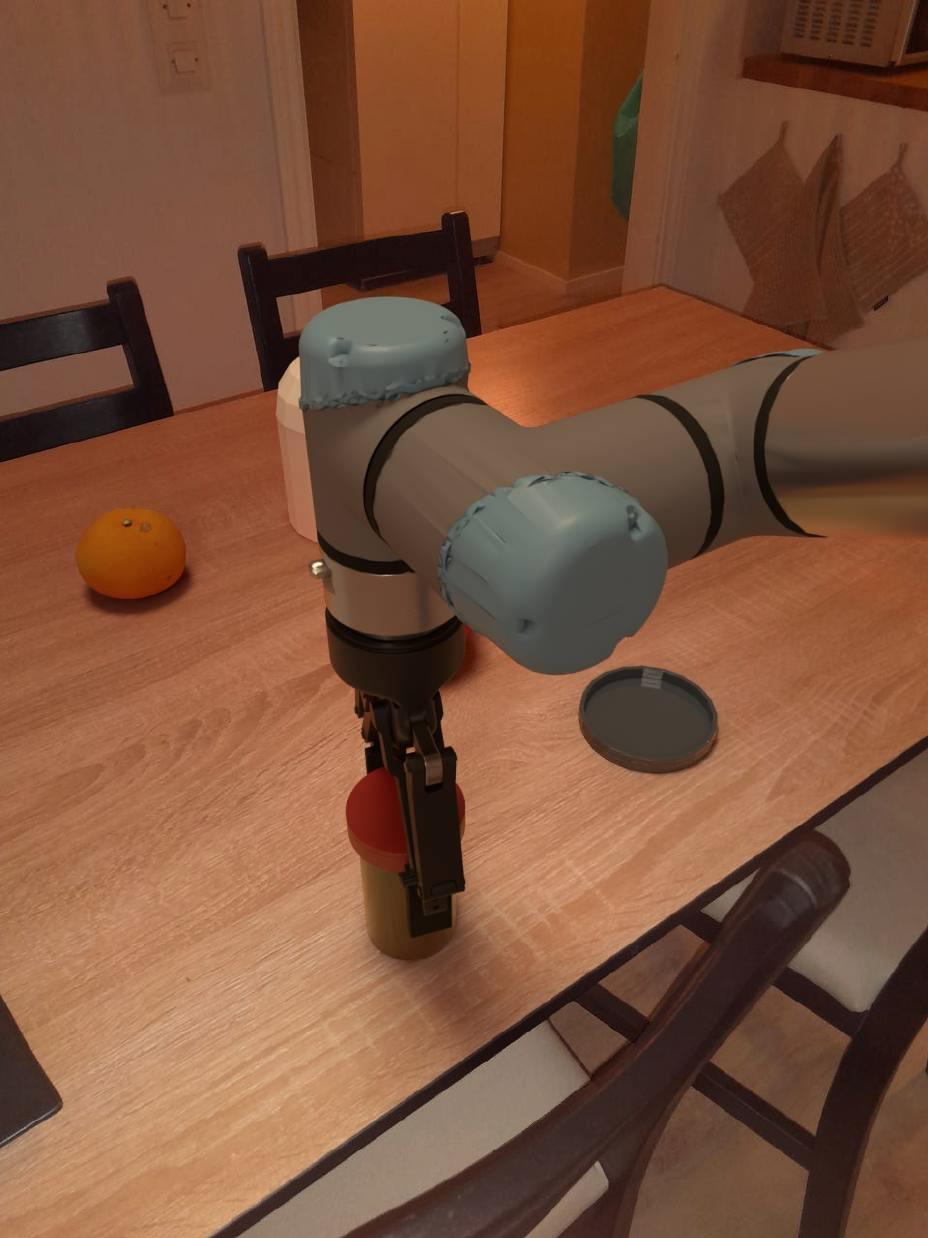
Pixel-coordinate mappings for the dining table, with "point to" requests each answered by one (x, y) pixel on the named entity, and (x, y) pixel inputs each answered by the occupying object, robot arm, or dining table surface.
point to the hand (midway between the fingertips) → (408, 866)
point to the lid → (382, 821)
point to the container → (295, 453)
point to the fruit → (131, 553)
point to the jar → (396, 917)
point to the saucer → (647, 719)
